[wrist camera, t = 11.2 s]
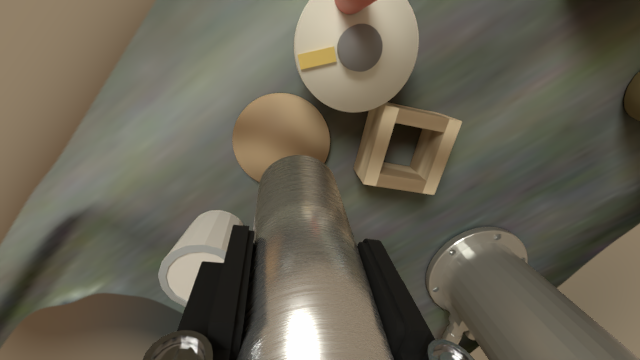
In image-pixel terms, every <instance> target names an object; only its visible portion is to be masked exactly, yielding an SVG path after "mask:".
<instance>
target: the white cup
mask: <svg viewBox="0 0 640 360" xmlns="http://www.w3.org/2000/svg"><path fill="white" fill-rule="evenodd" d="M233 225H242V226H243V224H242V222H241V221H240V219H238V218H237V217H236V216H234V215H233V214H231V213H228V212H225V211H222V210H215V211H208V212H205V213H203V214H201V215H199V216H198V217H197V218H196V219H195V220H194V221H193V223H192V224H191V225H190V227H189V228H188V229H187V230H186V232H185V233H184V234H183V236H182V237H181V238H180V239H179V241H178V242H177V243H176V245H175V246H174V247H173V248H172V250H171V251H170V252H169V254H168V255H167V256H166V257H165V259H164V260H163V261H162V263H161V266H160V270H159V274H158V277H159V281H160V285H161V288H162V289H163V290H164V292H165V293H166V294H167V295H168V296H169V298H170V299H172V300H174V301H175V302H177V303H179V304H181V305H183V306H185V307H186V305H187V302H188V299H189V296H190V293H191V291H192V288H193V285H194V282H195V279H196V277H197V274H198V271H199V268H200V265H201V263H202V262H203V261H206V262H219V263H224V259H225V255H226V251H227V247H228V243H229V239H230V235H231V231H232V227H233Z"/></svg>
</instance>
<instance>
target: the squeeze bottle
mask: <svg viewBox="0 0 640 360" xmlns="http://www.w3.org/2000/svg"><path fill="white" fill-rule="evenodd" d="M624 108H625V110H626V112H627V113H628V115H629V116H631V117H632V118H634V119H636V120H638V121H639V122H640V71H639V72H638V73H637V74H636V75H635V76H634V78H633V79H632V81H631V83H630V84H629V86H628V87H627V91H626V94H625V97H624Z"/></svg>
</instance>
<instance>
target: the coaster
mask: <svg viewBox="0 0 640 360" xmlns="http://www.w3.org/2000/svg"><path fill="white" fill-rule="evenodd" d="M232 142H233V149H234V153H235V156H236V158H237V161H238V162H239V164H240V166H241V167H242V168H243V170H244V171H245V172H246V173H247V174H248V175H249V176H251V177H252V178H253V179H255V180H256V181H258V182H260V180H261V177H262V175H263V173H264V172H265V170H266V169H267V168H268V167H269V166H270V165H271V164H273V163H274V162H275V161H277V160H279V159H281V158H284V157H287V156H292V155H305V156H310V157H313V158H316V159H318V160H320V161H321V162H323V163H325V161H326V159H327V156H328V153H329V148H330V135H329V130H328V127H327V124H326V122H325V120H324V118H323V116H322V115H321V113H320V112H319V111H318V110H317V109H316V107H315V106H314V105H312V104H311V103H310V102H308V101H307V100H305V99H303V98H301V97H299V96H297V95H293V94H288V93H273V94H268V95H264V96H262V97H260V98H258V99H256V100H254V101H253V102H251V103H250V104H249V105H248V106H247V107H246V108H245V109H244V110H243V111H242V113H241V114H240V116H239V117H238V119H237V121H236V124H235V127H234V130H233V141H232Z"/></svg>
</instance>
